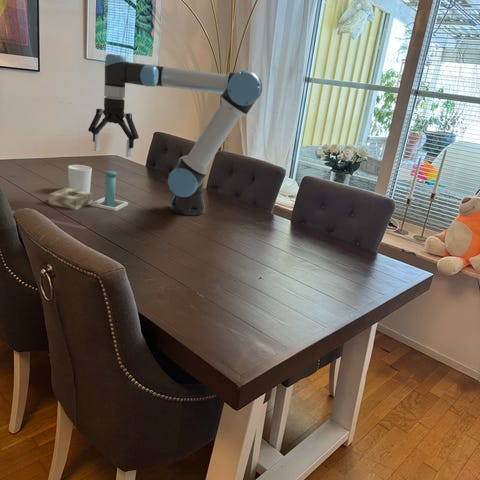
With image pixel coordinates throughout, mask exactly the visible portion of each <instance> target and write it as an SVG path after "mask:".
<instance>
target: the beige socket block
mask: <svg viewBox="0 0 480 480" xmlns="http://www.w3.org/2000/svg"><path fill="white" fill-rule="evenodd" d="M47 195H48V205H51V206H52V205H53V206H58V207H62V208H67V209H72V210H75V211H76V210H79V209H81V208H83V207H86V206H88V205H91V203H92V202H93V198H94V197H93V196H94V193H92V192H90V193H89V192H84V191H80V190H75V189H70V188H69V187H65V188H62V189H59V190H56V191H52V192H49V193H48V194H47Z"/></svg>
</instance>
